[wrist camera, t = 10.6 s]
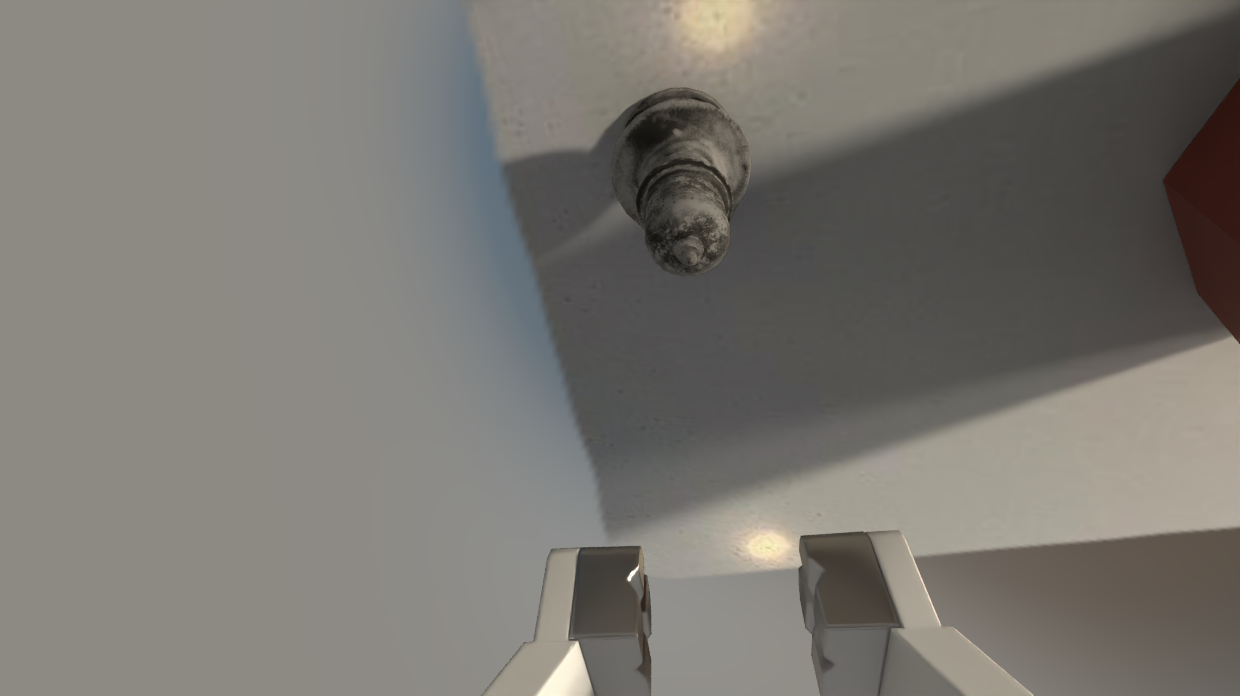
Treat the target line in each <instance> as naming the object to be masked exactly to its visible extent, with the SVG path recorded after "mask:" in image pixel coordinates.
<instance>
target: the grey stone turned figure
mask: <svg viewBox="0 0 1240 696" xmlns="http://www.w3.org/2000/svg"><path fill="white" fill-rule="evenodd" d="M750 170H751V158H750V153H749V148H748V143H747V141H746V139H745V137H744V135H743V133H742V131H741V130H740V128H739V126H738V125H737V124H736V123H735V122H734V121H733V120H732V119H731V118H730V117H729V115H728V114H727V113H726V112H725V110H724V109H723V108H722V107H721V106H720V105H719V104H718V102H717V101H716V100H715V99H713V98H712V97H710V96H708V95H706V94H705V93H703V92H701V91H697V90H693V89H689V88H670V89H667V90H664V91H661V92H658V93H655V94H653V95H652V96H650V97H649V98H647V99H646V100H644V101H643V102H642V103H641V104H640V105H639V106H638V107H637V108H636V109H635V110H634V112H633V113H632V114H631V116H630V118H629V120H628V122H627V124H626V126H625V129H624V130H623V132H622V134H621V136H620V138H619V140H618V142H617V144H616V146H615V150H614V154H613V159H612V164H611V172H612V184H613V187H614V190H615V193H616V196H617V199H618V201H619V203H620V204H621V206H622V207H623V209H624V210H625V212H626V213H627V214H628V215H629V216H630V217H631V218H632V219H633V220H634V221H636V222H637V223H638V224H639V225H640V226H641V227H642V228H643V230H644V231H645V239H646V245H647V248H648V251H649V253H650V255H651V257H652V258H653V260H654V261H655V263H656V264H658V265H659V266H660V267H661V268H662V269H663V270H665V271H667V272H669V273H671V274H674V275H679V276H696V275H700V274H704V273H706V272H708V271H710V270H712V269H713V268H714V267H716V266H717V265H718V264H719V263H720V262H721V261H722V259H723V258H724V256H725V255H726V253H727V250H728V247H729V244H730V233H731V231H730V227H729V222H730V219H731V216H732V213H733V212H734V211H735V209H736V207H737V206H738V204H739V203H740V201H741V200H742V198H743V197H744V195H745V192H746V189H747V186H748V183H749V180H750Z"/></svg>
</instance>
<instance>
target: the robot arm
mask: <svg viewBox="0 0 1240 696" xmlns="http://www.w3.org/2000/svg"><path fill="white" fill-rule="evenodd" d="M799 552H800V557H801V561H802V566H801V567H800V568H799V592H800V601H801V607H802V613H803V618H804V623H805V628H806V629H807V630H808V631H809V632H810V633H811V634H812V653H811V654H812V655H811V656H812V660H813V664H814V668H815V673H816V678H817V682H818V687H819V691H820V695H821V696H1034V695H1033V694H1032V693H1031V692H1029V691H1028V690H1027V689H1026V688H1025V687H1023V686H1022V685H1021V684H1020V683H1019V682H1017V681H1016V680H1015V679H1014V678H1013V677H1012V676H1010V675H1009V674H1008V673H1007V672H1006V671H1005V670H1003V669H1002V668H1001V667H1000V666H999V665H997V664H996V663H995V662H994V661H993V660H991V659H990V658H989V657H988V656H987V655H985V654H984V653H983V652H982V651H981V650H980V649H979V648H977V647H976V646H975V645H974V644H973V643H971V642H970V641H969V640H968V639H967V638H965V637H964V636H963V635H962V634H961V633H959V632H958V631H957V630H956V629H955V628H954V627H952V626H941V624H940V622H939V619H938V617H937V614H936V612H935V609H934V607H933V605H932V602H931V600H930V597H929V595H928V593H927V590H926V588H925V585H924V583H923V580H922V578H921V576H920V573H919V571H918V568H917V566H916V564H915V561H914V559H913V556H912V554H911V552H910V549H909V547H908V544H907V542H906V539H905V537H904V535H903V534H902V533H901V532H900V531H899V530H892V531H876V532H865V533H864V532H863V531H862V532H848V533H833V534H819V535H804V536H801V537H800V542H799ZM650 635H651V605H650V591H649V584H648V578H647V575H645V574H644V556H643V551H642V547H641V546H619V547H583V548H561V549H551V551H550V554H549V556H548V558H547V563H546V568H545V574H544V581H543V586H542V593H541V599H540V604H539V610H538V616H537V622H536V628H535V634H534V640H533V642H524V643H523V645H522V646H521V647H520V648H519V650H518V651H517V652H516V653H515V655H514V656H513V657H512V658H511V659H510V661H509V662H508V663H507V664H506V665H505V667H504V668H503V669H502V670H501V672H500V673H499V674H498V675H497V676H496V678H495V679H494V680H493V681H492V683H491V684H490V685H489V687H487V689H486V690H485V691H484V693H483V694H482V695H481V696H651V657H650V651H649V646H648V640H647V639H648V638H649V637H650Z"/></svg>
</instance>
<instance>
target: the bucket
mask: <svg viewBox="0 0 1240 696" xmlns="http://www.w3.org/2000/svg"><path fill="white" fill-rule="evenodd" d="M1163 183H1164V186H1165V189H1166V193H1167V196H1168V199H1169V202H1170V205H1171V209H1172V212H1173V215H1174V218H1175V221H1176V225H1177V228H1178V231H1179V234H1180V237H1181V241H1182V244H1183V247H1184V250H1185V254H1186V257H1187V260H1188V263H1189V266H1190V270H1191V273H1192V276H1193V279H1194V282H1195V286H1196V289H1197V292H1198V294H1199V296H1200V297H1201V298H1202V299H1203V300H1204V302H1205V303H1206V304H1207V305H1208V306H1209V308H1210V309H1211V310H1212V311H1213V312H1214V314H1215V315H1216V316H1217V317H1218V318H1219V320H1220V321H1221V322H1222V323H1223V324H1224V326H1225V327H1226V328H1227V329H1228V330H1229V332H1230V333H1231V334H1232V335H1233V336H1234V338H1235V339H1236V340H1237V341H1238V342H1239V344H1240V79H1239V81H1238V82H1237V83H1236V85H1235V86H1234V87H1233V89H1232V90H1231V91H1230V93H1229V94H1228V95H1227V96H1226V98H1225V99H1224V100H1223V102H1222V103H1221V104H1220V106H1219V107H1218V108H1217V110H1216V111H1215V112H1214V114H1213V115H1212V116H1211V118H1210V119H1209V120H1208V121H1207V123H1206V124H1205V125H1204V127H1203V128H1202V129H1201V131H1200V132H1199V133H1198V135H1197V136H1196V137H1195V139H1194V140H1193V141H1192V143H1191V144H1190V145H1189V147H1188V148H1187V149H1186V150H1185V152H1184V153H1183V154H1182V156H1181V157H1180V158H1179V160H1178V161H1177V162H1176V164H1175V165H1174V166H1173V168H1172V169H1171V170H1170V172H1169V173H1168V174H1167V175H1166V177H1165V178H1164V179H1163Z"/></svg>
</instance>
